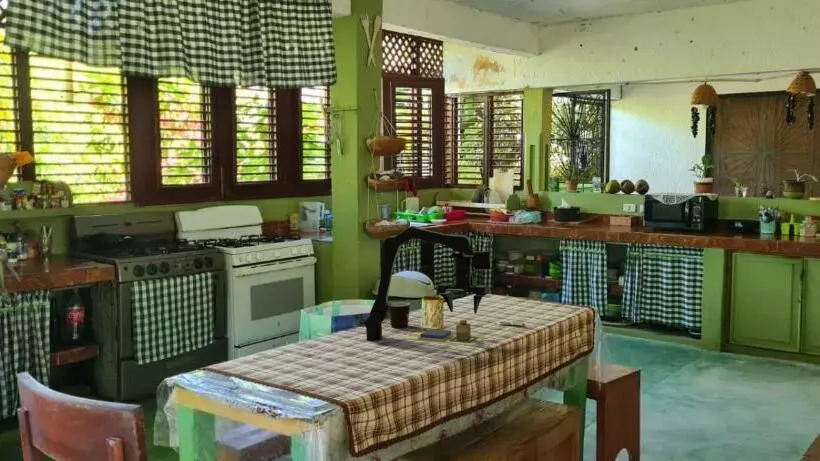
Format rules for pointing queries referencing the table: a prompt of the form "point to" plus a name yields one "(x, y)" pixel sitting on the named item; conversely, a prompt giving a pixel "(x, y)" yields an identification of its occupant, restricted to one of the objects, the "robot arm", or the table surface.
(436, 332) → the ink pad
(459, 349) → the table surface
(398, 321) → the coffee mug
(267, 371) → the table surface
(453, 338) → the station board
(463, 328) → the stamp
